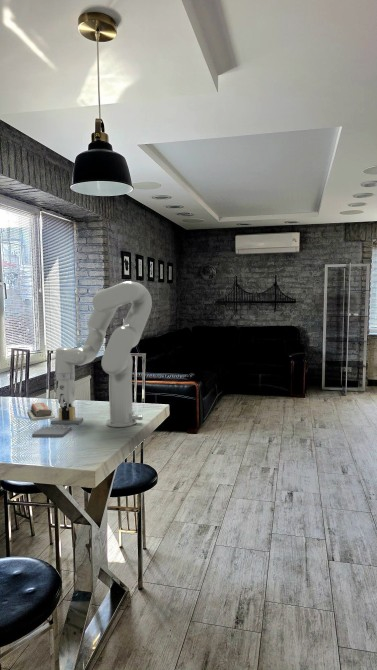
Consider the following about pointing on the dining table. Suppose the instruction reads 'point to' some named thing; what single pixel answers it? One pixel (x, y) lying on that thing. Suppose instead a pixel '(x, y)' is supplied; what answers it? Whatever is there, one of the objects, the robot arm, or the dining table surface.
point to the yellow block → (71, 414)
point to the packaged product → (40, 412)
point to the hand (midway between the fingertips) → (67, 418)
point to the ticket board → (52, 432)
